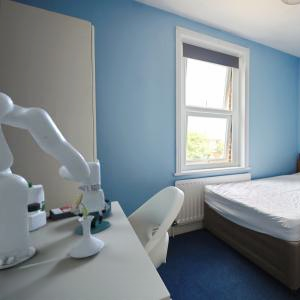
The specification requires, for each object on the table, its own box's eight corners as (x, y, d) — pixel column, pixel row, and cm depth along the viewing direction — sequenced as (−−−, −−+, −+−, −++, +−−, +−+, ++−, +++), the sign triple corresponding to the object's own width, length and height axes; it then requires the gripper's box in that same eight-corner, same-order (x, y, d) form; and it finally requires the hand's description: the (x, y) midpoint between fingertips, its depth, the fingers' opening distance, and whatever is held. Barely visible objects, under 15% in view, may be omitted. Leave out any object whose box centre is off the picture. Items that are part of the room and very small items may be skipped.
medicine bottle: (46, 224, 105) (45, 201, 105) (32, 231, 98) (31, 206, 98) (34, 224, 106) (32, 201, 105) (18, 230, 99) (17, 205, 98)
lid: (111, 231, 99) (110, 218, 98) (73, 239, 91) (72, 225, 91) (109, 220, 111) (109, 209, 111) (75, 226, 103) (75, 214, 103)
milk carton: (22, 219, 112) (19, 183, 110) (44, 215, 118) (42, 180, 117) (23, 224, 106) (20, 185, 104) (46, 219, 112) (44, 183, 111)
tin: (112, 218, 114) (111, 203, 113) (82, 224, 106) (81, 208, 106) (110, 211, 125) (110, 197, 125) (83, 215, 118) (82, 201, 117)
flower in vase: (74, 247, 84) (72, 187, 82) (106, 242, 88) (104, 185, 86) (62, 266, 72) (59, 196, 70) (100, 260, 76) (97, 193, 74)
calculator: (86, 207, 120) (53, 213, 109) (86, 214, 121) (53, 221, 109) (80, 203, 127) (49, 208, 116) (80, 210, 128) (49, 216, 116)
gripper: (68, 192, 92) (70, 231, 93) (112, 187, 101) (113, 223, 102) (70, 188, 98) (72, 225, 100) (111, 184, 108) (112, 218, 109)
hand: (93, 224), depth 101 cm, fingers open, 5 cm apart
